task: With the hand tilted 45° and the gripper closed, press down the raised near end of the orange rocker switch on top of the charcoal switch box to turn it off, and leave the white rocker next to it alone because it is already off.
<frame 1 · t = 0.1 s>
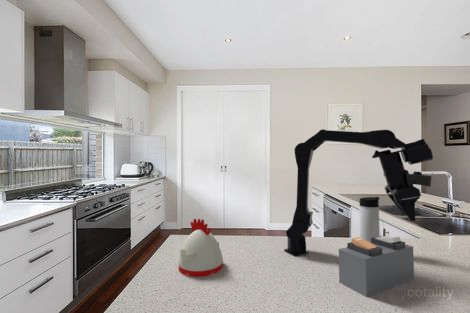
hand: (409, 217, 76), 15 cm above the countertop, tool pointing down, fingers open, 9 cm apart
white rocker: (387, 239, 70), point 11 cm above the countertop, hinge at -14.0°
travel mug: (370, 252, 89), on the countertop
orange rocker: (364, 244, 66), point 11 cm above the countertop, hinge at 14.0°
switch box: (377, 280, 68), on the countertop
kitchen timer: (200, 267, 78), on the countertop
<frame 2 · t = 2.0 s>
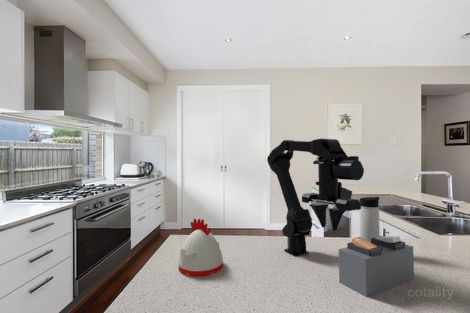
hand: (329, 228, 76), 12 cm above the countertop, tool pointing down, fingers open, 4 cm apart
nothing on the countertop moved.
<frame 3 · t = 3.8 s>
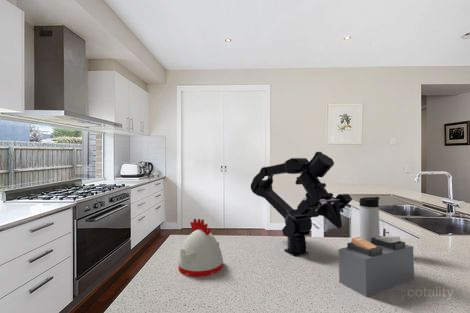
hand: (340, 227, 73), 13 cm above the countertop, tool tilted 45°, fingers closed
nothing on the countertop moved.
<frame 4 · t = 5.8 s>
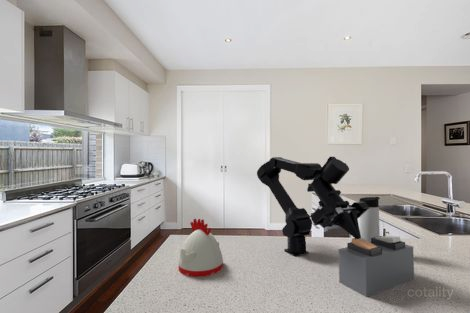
hand: (359, 238, 67), 12 cm above the countertop, tool tilted 45°, fingers closed, pressing on orange rocker
orange rocker: (364, 244, 66), point 11 cm above the countertop, hinge at 13.6°, touching gripper
everything else where it was.
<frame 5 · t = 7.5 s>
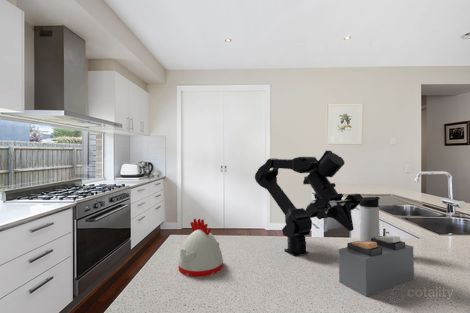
hand: (351, 230, 69), 13 cm above the countertop, tool tilted 45°, fingers closed
orange rocker: (364, 244, 66), point 11 cm above the countertop, hinge at -11.6°
everything else where it was.
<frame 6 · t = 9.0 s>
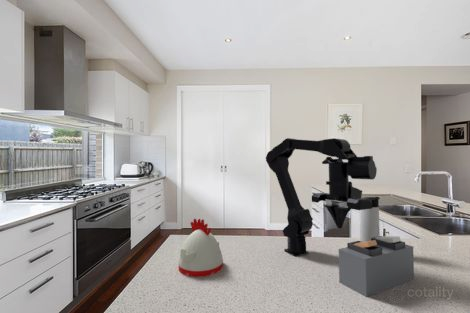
hand: (339, 228, 77), 12 cm above the countertop, tool pointing down, fingers closed
orange rocker: (364, 244, 66), point 11 cm above the countertop, hinge at -23.7°
everything else where it was.
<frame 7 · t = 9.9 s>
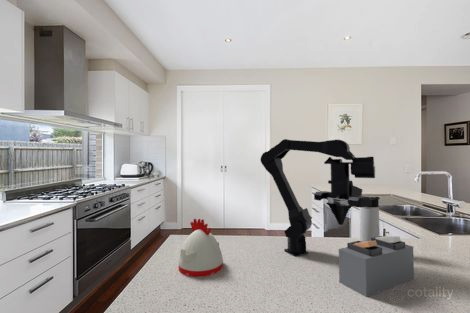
hand: (340, 224, 81), 12 cm above the countertop, tool pointing down, fingers closed
orange rocker: (364, 244, 66), point 11 cm above the countertop, hinge at -22.3°
everything else where it was.
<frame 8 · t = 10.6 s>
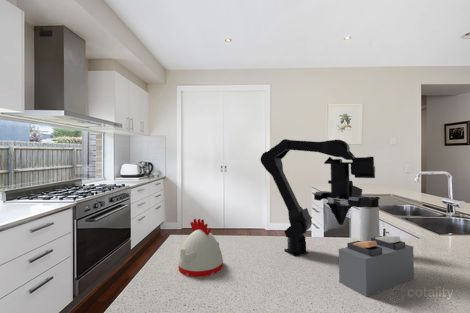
hand: (340, 224, 81), 12 cm above the countertop, tool pointing down, fingers closed
orange rocker: (364, 244, 66), point 11 cm above the countertop, hinge at -19.9°
everything else where it was.
at the end: orange rocker at -19° (first picture: +14°); white rocker at -14° (first picture: -14°) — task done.
